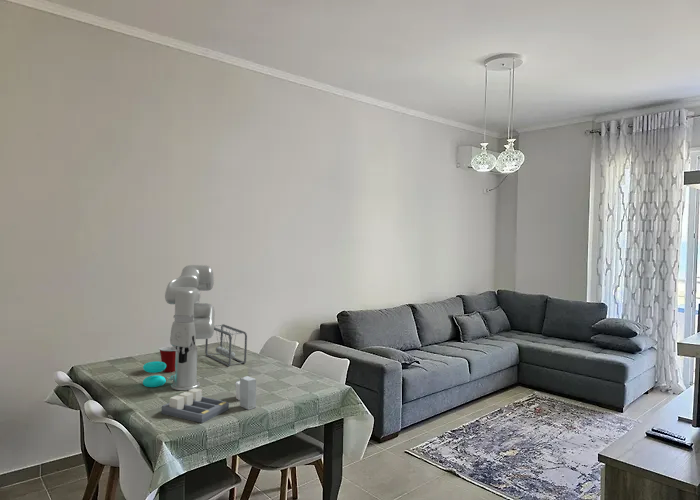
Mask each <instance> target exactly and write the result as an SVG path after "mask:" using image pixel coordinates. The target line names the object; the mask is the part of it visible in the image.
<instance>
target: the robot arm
mask: <svg viewBox="0 0 700 500" xmlns="http://www.w3.org/2000/svg"><path fill="white" fill-rule="evenodd" d="M214 279H215V277H214V271H213V269H212V267H211V266H209V265H206V264H205V265H203V264H201V265H199V264H190V265H186V266H184V267H183V268H182V270H181V273H180V275H179V277H178V278H175V279H172V280H171V281H170V282H168V283H167V285H166V289H165V293H164V299H165V302H166V303H167V304H170V305H174V315H173V319H174V321H173V322H172V325H171V329H170V337H169V342H170V345H171V347H174V348H176V359H175V371H174V374H171V375H170V376H169V378H168V379H169V380H170V381H172V383H171V385H170V388H171V389H172V390H176V391H189V390H191V389H194V388H196V389H198V388H199V387H200V384H201V383H200V381H198V380H197V376H198V374H197V373H198V372H197V371H198V370H197V368H198V347H197V345H196V340H206V339H208V340H209V339H211V338H212V337H213V336H214V332H215V330H214V327H215V315H216V314H215V307H214V306H213V304H212V303H204V302H200V299H201V292H202V291H207V292H208V291H211V290H212V289H213V288H214V285H215V284H214V283H215V282H214V281H215V280H214Z"/></svg>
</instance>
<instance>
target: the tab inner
mask: <svg viewBox="0 0 700 500" xmlns="http://www.w3.org/2000/svg"><path fill="white" fill-rule="evenodd" d="M187 392H189V393H193V400H195V401H201V400H202V397H203V389H200V388H194V389H191V390H187Z"/></svg>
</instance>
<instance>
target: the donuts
mask: <svg viewBox="0 0 700 500" xmlns="http://www.w3.org/2000/svg"><path fill="white" fill-rule="evenodd" d="M142 366H143V367H142V369H143V371H145V372H146V373H150V374H151V373H152V374H156V373H161V372H163V370H164V369H165V368H166V364H165V363H164V362H162V361H156V360H155V361H149V362H146V363H145V364H143V365H142ZM166 382H167V380H166V378H165V377H164V376H163V375H159V374H158V375H149V376H147V377H144V379H143V380H142V385H143V386H144V387H147V388H158V387H162V386H164V385H165V384H166Z"/></svg>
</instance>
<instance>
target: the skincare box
mask: <svg viewBox="0 0 700 500" xmlns="http://www.w3.org/2000/svg"><path fill="white" fill-rule="evenodd" d="M239 381H240V400H239V406H240V407H242V408H243V409H246V410H253V409H256V407H257V379H256V378H254V377H251V376H248V375H247V376H243V377H239Z"/></svg>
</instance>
